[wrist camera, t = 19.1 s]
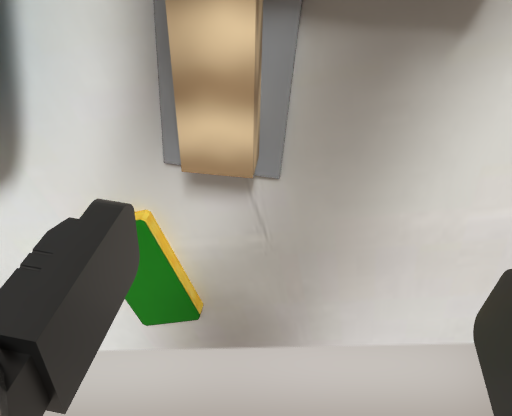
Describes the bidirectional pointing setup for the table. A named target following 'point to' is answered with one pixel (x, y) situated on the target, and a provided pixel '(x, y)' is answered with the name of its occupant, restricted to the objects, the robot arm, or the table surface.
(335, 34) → the table surface
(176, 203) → the table surface
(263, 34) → the slate mat
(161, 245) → the dish sponge
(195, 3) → the oak block
